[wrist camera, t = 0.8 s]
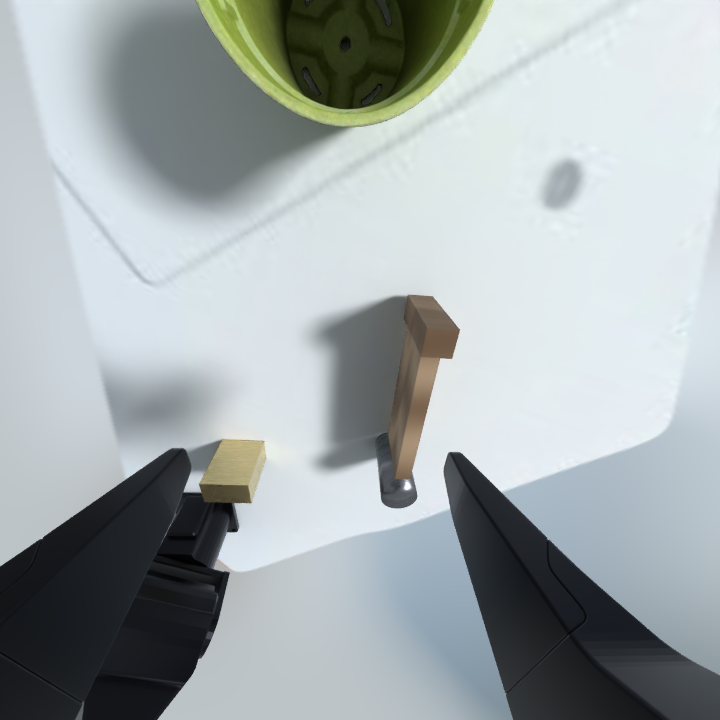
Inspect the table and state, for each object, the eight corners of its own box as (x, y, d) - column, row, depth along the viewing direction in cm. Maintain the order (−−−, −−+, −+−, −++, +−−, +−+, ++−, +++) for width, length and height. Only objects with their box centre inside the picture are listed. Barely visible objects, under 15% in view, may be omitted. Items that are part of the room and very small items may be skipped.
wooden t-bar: (403, 434, 27) (415, 490, 22) (385, 433, 27) (393, 489, 22) (432, 296, 21) (459, 329, 15) (407, 294, 21) (427, 327, 15)
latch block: (266, 458, 30) (251, 503, 25) (226, 456, 29) (204, 502, 25) (264, 441, 28) (248, 485, 24) (222, 439, 28) (199, 483, 24)
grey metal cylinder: (402, 454, 30) (413, 508, 25) (374, 453, 30) (379, 507, 24) (407, 432, 28) (420, 485, 23) (377, 431, 28) (383, 484, 23)
